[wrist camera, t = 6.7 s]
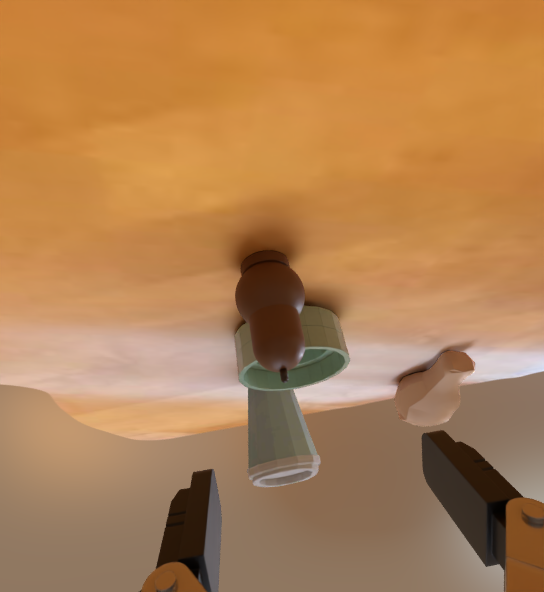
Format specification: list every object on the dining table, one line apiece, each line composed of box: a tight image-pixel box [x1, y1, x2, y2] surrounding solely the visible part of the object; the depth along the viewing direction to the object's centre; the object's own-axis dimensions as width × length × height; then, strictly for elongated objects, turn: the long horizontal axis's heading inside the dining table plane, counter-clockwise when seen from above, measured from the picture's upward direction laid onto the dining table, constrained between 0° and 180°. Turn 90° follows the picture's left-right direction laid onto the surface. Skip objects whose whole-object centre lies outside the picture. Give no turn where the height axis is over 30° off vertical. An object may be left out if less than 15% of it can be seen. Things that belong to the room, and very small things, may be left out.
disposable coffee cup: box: [247, 388, 320, 487], centre depth 55 cm, size 11×11×15 cm
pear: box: [235, 251, 305, 383], centre depth 30 cm, size 6×6×11 cm
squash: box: [394, 351, 475, 426], centre depth 66 cm, size 11×20×9 cm, turn 174°
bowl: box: [235, 306, 350, 391], centre depth 43 cm, size 13×13×6 cm
